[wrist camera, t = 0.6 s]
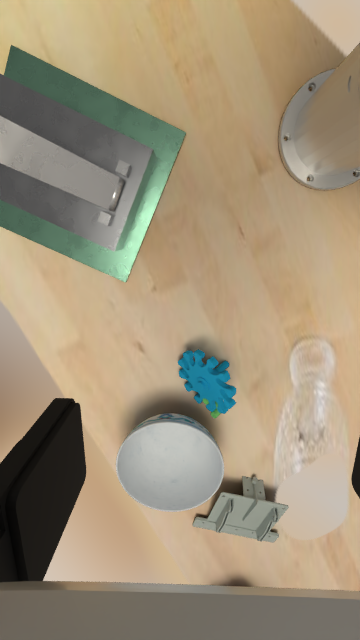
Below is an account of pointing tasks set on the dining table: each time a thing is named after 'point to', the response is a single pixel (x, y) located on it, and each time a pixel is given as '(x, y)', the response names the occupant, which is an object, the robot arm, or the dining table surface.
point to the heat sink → (94, 146)
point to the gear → (208, 382)
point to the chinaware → (170, 463)
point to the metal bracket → (244, 513)
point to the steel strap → (57, 166)
